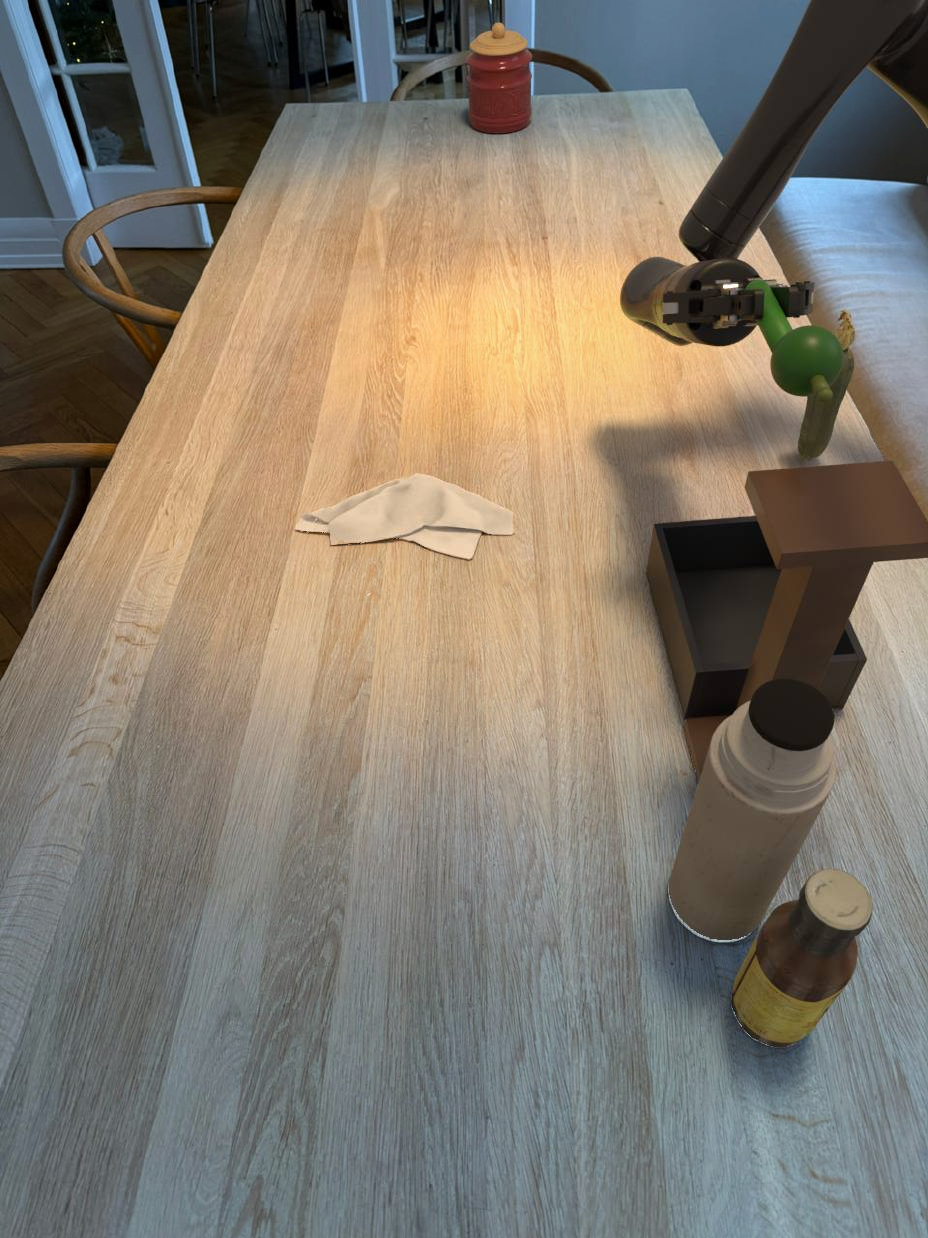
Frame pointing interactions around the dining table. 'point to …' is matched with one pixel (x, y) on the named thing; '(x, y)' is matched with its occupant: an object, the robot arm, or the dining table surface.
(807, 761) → the thermos bottle
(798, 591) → the shelf stand
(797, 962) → the sauce bottle
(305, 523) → the cloth
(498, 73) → the kitchen canister
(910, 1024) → the dining table surface
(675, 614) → the open box
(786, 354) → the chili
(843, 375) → the vegetable
